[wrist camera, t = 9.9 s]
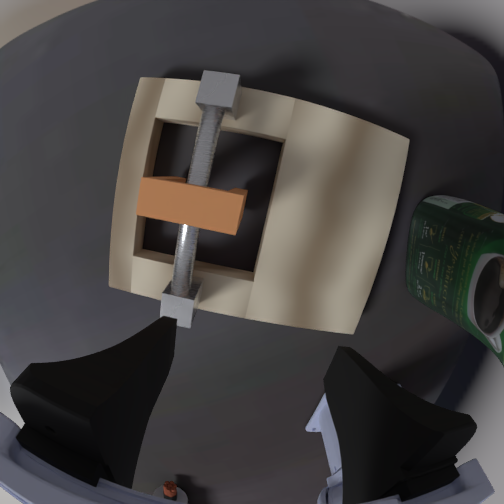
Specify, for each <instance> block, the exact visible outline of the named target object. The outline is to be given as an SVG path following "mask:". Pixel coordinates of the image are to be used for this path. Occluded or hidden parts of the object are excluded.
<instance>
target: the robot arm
mask: <svg viewBox="0 0 504 504" xmlns="http://www.w3.org/2000/svg"><path fill="white" fill-rule="evenodd" d="M176 327H177V319H176V318H172V317H167V316H162V317H161V318H159V319H158V320H156V321H155V322H153V323H152V324H150V325H149V326H148V327H146V328H145V329H143V330H141V331H140V332H138V333H137V334H135V335H134V336H132V337H130V338H128V339H126V340H125V341H123V342H121V343H119V344H117V345H115V346H113V347H110V348H108V349H105V350H103V351H100V352H97V353H94V354H91V355H87V356H84V357H80V358H76V359H71V360H66V361H59V362H48V363H31V364H30V365H29V366H28V367H27V368H26V369H25V370H24V371H23V372H22V373H21V374H20V376H19V377H18V378H17V379H16V380H15V381H14V382H13V383H12V385H11V387H10V392H11V397H12V399H13V402H14V404H15V406H16V408H17V409H18V411H19V413H20V415H21V417H22V419H23V421H24V422H25V424H24V426H23V428H22V429H20V427H19V426H18V425H17V424H16V423H14V422H13V421H12V420H11V419H9V418H8V417H7V416H5V415H4V414H3V413H1V412H0V487H2V488H3V489H4V490H5V491H7V492H8V493H9V494H11V495H12V496H13V497H15V498H16V499H17V500H19V501H20V502H21V503H23V504H187V503H182V502H177V501H172V500H168V499H164V498H160V497H156V496H152V495H149V494H145V493H142V492H139V491H135V490H132V484H133V479H134V474H135V469H136V465H137V460H138V456H139V452H140V448H141V444H142V441H143V437H144V434H145V430H146V427H147V423H148V420H149V417H150V415H151V412H152V410H153V407H154V405H155V403H156V401H157V398H158V396H159V394H160V392H161V390H162V387H163V385H164V383H165V381H166V378H167V376H168V374H169V371H170V367H171V364H172V361H173V357H174V349H175V338H176ZM323 380H324V388H325V394H324V395H323V397H322V399H321V401H320V403H319V405H318V407H317V408H316V410H315V412H314V414H313V415H312V417H311V419H310V421H309V422H308V424H307V426H306V431H309V432H321V433H322V437H323V441H324V445H325V449H326V453H327V457H328V461H329V466H330V470H331V474H332V476H330V477H328V478H327V483H328V487H325V488H323V489H322V491H321V493H320V495H319V497H318V501H317V504H481V503H482V502H483V501H485V500H486V499H487V498H488V497H489V496H491V495H492V494H493V493H494V492H495V491H494V489H493V487H492V486H491V483H490V481H489V480H488V478H487V476H486V474H485V473H484V471H483V469H482V468H481V466H480V464H479V462H478V461H477V459H472V460H470V461H468V462H466V463H464V464H462V465H460V466H459V467H458V468H456V467H455V465H454V464H455V463H456V462H457V461H458V459H457V458H456V456H455V455H456V454H457V453H458V452H459V451H460V450H461V449H462V448H463V447H464V446H465V445H466V444H467V442H468V441H469V440H470V439H471V438H472V437H473V435H474V433H475V432H476V429H477V425H476V423H475V422H474V420H473V419H472V417H471V416H470V415H468V414H464V413H459V412H455V411H451V410H448V409H445V408H442V407H439V406H436V405H434V404H432V403H429V402H427V401H425V400H423V399H421V398H419V397H417V396H415V395H413V394H412V393H410V392H408V391H407V390H405V389H403V388H402V387H401V385H400V384H396V383H395V382H393V381H392V380H391V379H389V378H388V377H387V376H385V375H384V374H383V373H382V372H380V371H379V370H378V369H377V368H375V367H374V366H373V365H372V364H371V363H369V362H368V361H367V360H366V359H365V358H364V357H362V356H361V355H360V354H359V353H357V352H356V351H355V350H353V349H352V348H350V347H342V346H338V349H337V351H336V353H335V355H334V358H333V360H332V362H331V364H330V366H329V369H328V371H327V373H326V375H325V377H324V379H323Z"/></svg>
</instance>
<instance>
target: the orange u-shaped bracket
mask: <svg viewBox="0 0 504 504" xmlns="http://www.w3.org/2000/svg"><path fill="white" fill-rule="evenodd" d="M247 193H248V190H244V189H239V188H234V189H231V190H229V191H225V190H220V189H215V188H210V187H205V186H199V185H194V184H188V183H186V178H181V177H175V176H164V177H141V182H140V188H139V195H138V202H137V209H136V215H140V216H145V217H150V218H155V219H160V220H165V221H169V222H174V223H179V224H184V225H189V226H194V227H198V228H203V229H208V230H213V231H217V232H222V233H227V234H232V235H236V233H237V230H238V227H239V225H240V222H241V219H242V216H243V211H244V206H245V202H246V197H247Z"/></svg>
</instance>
